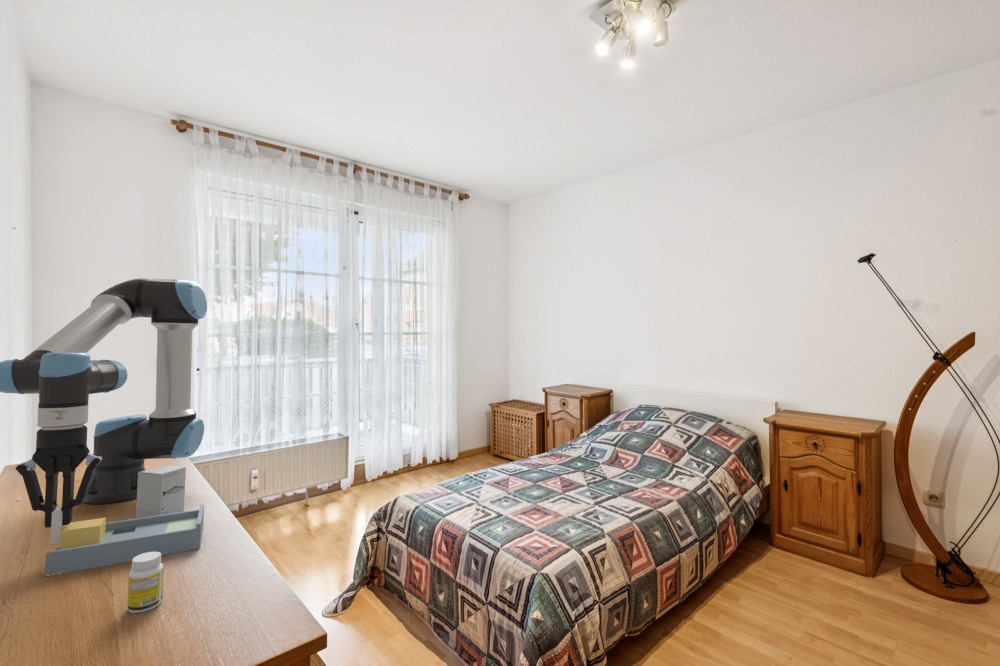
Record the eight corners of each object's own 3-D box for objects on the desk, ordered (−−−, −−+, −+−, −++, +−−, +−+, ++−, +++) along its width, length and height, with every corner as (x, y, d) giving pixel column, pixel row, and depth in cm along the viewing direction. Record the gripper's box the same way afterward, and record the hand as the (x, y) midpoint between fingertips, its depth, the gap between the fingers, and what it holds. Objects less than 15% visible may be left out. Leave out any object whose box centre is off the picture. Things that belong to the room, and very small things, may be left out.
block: (67, 541, 94) (68, 522, 94) (105, 536, 97) (105, 517, 97) (60, 551, 90) (61, 531, 90) (99, 544, 93) (100, 525, 93)
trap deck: (67, 549, 97) (68, 523, 97) (203, 526, 110) (204, 504, 110) (44, 577, 86) (46, 548, 86) (199, 548, 98) (200, 523, 99)
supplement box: (158, 524, 111) (160, 473, 112) (134, 522, 113) (136, 471, 113) (185, 514, 118) (186, 466, 119) (162, 511, 120) (163, 464, 120)
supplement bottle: (140, 598, 79) (142, 550, 79) (168, 597, 79) (170, 549, 80) (119, 614, 74) (122, 563, 74) (149, 613, 75) (152, 562, 75)
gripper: (10, 432, 86) (4, 556, 85) (99, 427, 92) (94, 542, 92) (26, 426, 92) (20, 541, 91) (108, 421, 99) (103, 529, 98)
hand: (57, 541), depth 92 cm, fingers closed
